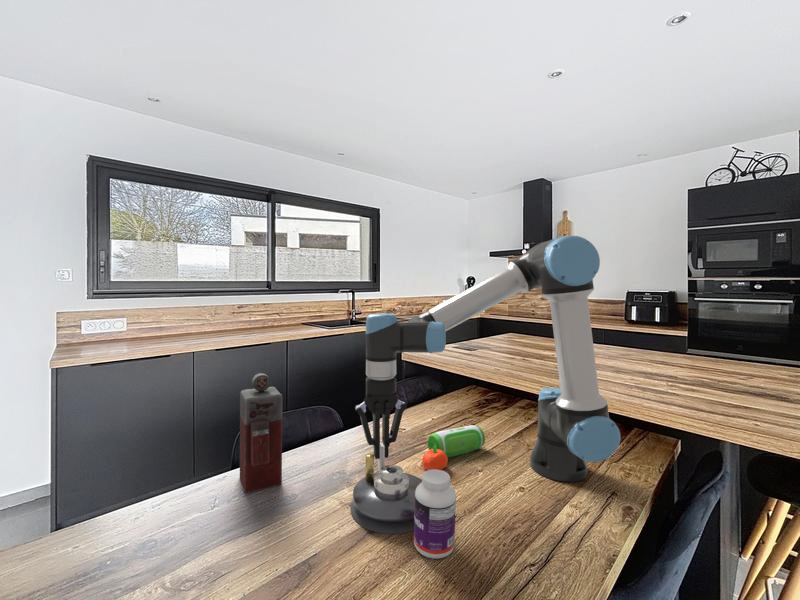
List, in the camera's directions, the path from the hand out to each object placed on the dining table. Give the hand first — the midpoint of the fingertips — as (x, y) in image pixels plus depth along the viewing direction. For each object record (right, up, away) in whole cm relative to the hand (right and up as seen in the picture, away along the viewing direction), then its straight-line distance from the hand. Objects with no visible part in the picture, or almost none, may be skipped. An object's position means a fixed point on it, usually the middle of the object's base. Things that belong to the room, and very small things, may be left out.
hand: (381, 470), depth 94 cm
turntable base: (+3, -6, -6) cm, 9 cm away
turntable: (+3, -4, -6) cm, 8 cm away
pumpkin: (+15, -6, +13) cm, 20 cm away
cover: (+3, -2, -7) cm, 7 cm away
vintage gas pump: (-31, -5, +3) cm, 32 cm away
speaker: (+22, -5, +24) cm, 33 cm away
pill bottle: (+11, -7, -19) cm, 23 cm away
